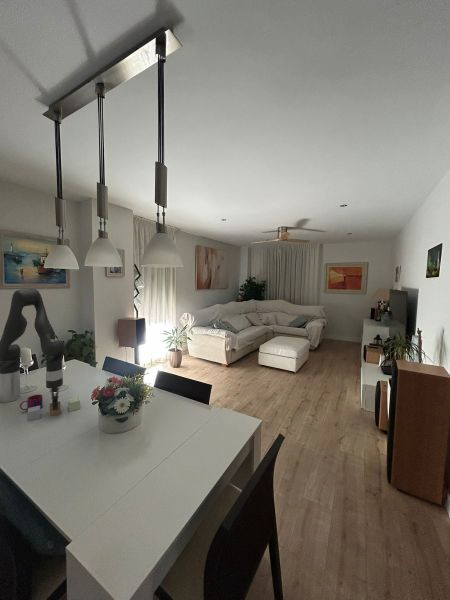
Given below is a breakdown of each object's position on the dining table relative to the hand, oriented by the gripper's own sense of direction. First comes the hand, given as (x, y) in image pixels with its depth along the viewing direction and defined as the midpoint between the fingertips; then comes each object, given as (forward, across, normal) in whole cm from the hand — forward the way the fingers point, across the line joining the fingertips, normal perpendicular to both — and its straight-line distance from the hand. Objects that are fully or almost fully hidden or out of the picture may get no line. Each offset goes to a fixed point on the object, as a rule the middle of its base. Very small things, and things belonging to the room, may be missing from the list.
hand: (55, 406), depth 131 cm
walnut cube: (+4, 0, 0) cm, 4 cm away
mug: (+4, -11, -11) cm, 16 cm away
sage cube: (+4, 0, +9) cm, 10 cm away
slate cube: (+4, 0, -9) cm, 10 cm away
